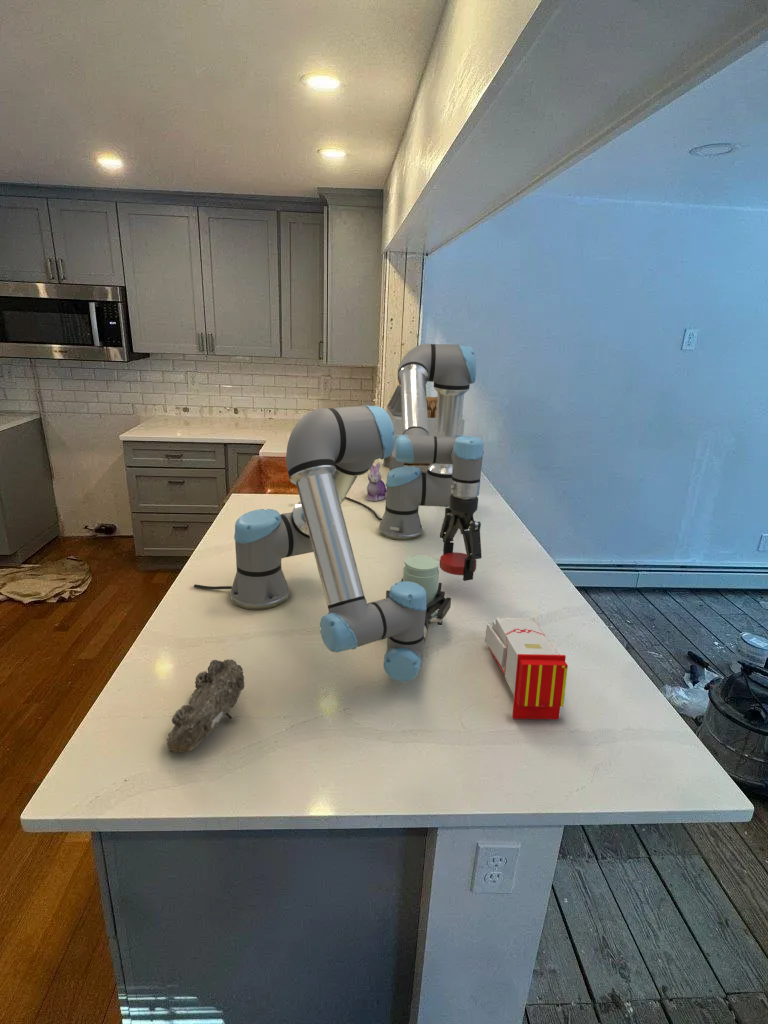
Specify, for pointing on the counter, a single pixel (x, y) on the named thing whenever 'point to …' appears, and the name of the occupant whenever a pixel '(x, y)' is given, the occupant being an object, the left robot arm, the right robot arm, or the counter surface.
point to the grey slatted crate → (396, 417)
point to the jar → (423, 574)
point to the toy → (529, 667)
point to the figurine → (375, 484)
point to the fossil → (206, 705)
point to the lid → (453, 563)
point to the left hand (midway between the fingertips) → (421, 585)
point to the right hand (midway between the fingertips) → (457, 571)
